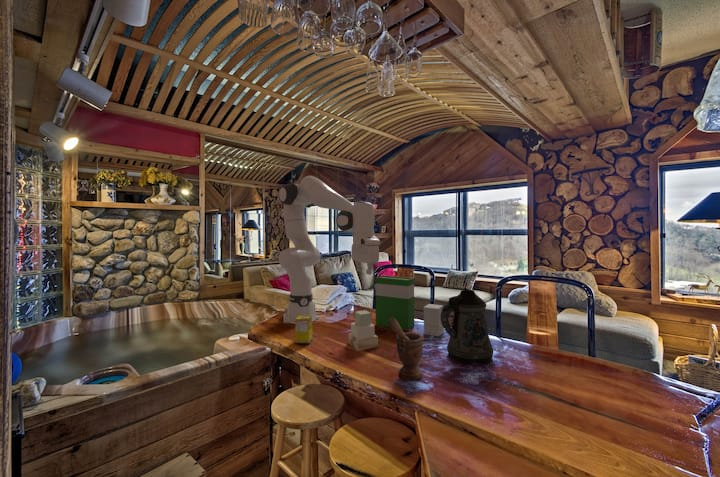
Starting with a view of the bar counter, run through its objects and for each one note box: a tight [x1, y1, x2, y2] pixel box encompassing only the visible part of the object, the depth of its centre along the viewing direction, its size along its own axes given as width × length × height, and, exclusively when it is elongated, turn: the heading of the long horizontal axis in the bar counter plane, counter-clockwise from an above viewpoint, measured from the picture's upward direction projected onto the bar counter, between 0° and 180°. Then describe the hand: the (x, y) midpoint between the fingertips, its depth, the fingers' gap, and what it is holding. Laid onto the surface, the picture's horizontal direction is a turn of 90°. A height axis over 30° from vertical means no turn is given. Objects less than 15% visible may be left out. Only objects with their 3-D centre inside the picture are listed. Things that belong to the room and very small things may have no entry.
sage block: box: [354, 310, 372, 327], centre depth 132 cm, size 5×5×5 cm
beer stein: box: [440, 289, 494, 366], centre depth 118 cm, size 16×19×25 cm
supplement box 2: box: [422, 303, 445, 337], centre depth 146 cm, size 7×7×13 cm
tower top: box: [350, 322, 376, 339], centre depth 132 cm, size 8×8×4 cm
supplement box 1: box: [294, 315, 313, 345], centre depth 136 cm, size 6×6×11 cm
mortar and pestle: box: [388, 317, 424, 381], centre depth 103 cm, size 12×9×20 cm
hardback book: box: [375, 274, 415, 331], centre depth 158 cm, size 18×7×24 cm, turn 59°
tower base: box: [348, 332, 379, 351], centre depth 132 cm, size 9×9×4 cm
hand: (364, 272), depth 133 cm, fingers open, 8 cm apart
